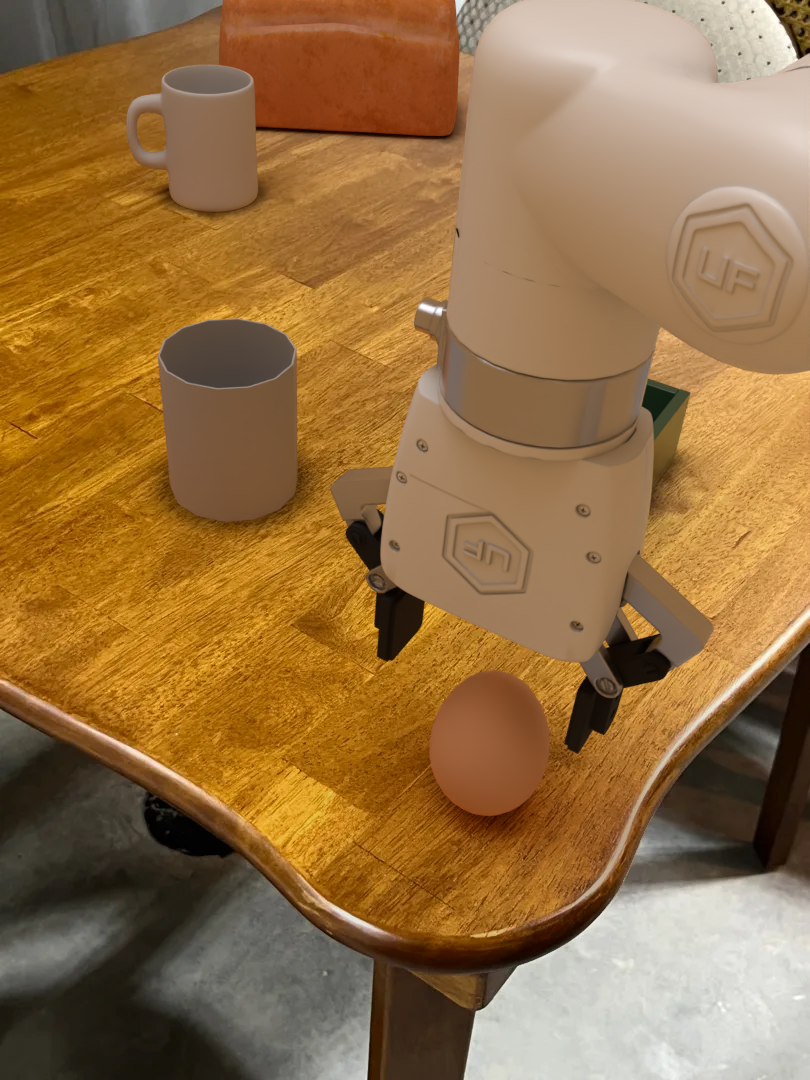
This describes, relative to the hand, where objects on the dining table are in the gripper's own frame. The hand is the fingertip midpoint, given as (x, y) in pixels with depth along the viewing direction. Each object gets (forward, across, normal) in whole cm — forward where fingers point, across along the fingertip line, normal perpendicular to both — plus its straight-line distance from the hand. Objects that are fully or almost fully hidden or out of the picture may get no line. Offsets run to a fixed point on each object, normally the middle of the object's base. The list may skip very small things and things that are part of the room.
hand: (489, 685), depth 53 cm
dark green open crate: (+8, -8, +27) cm, 29 cm away
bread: (+9, -57, +76) cm, 96 cm away
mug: (+9, -56, +49) cm, 75 cm away
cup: (+9, -25, +14) cm, 30 cm away
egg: (+8, +1, 0) cm, 8 cm away
